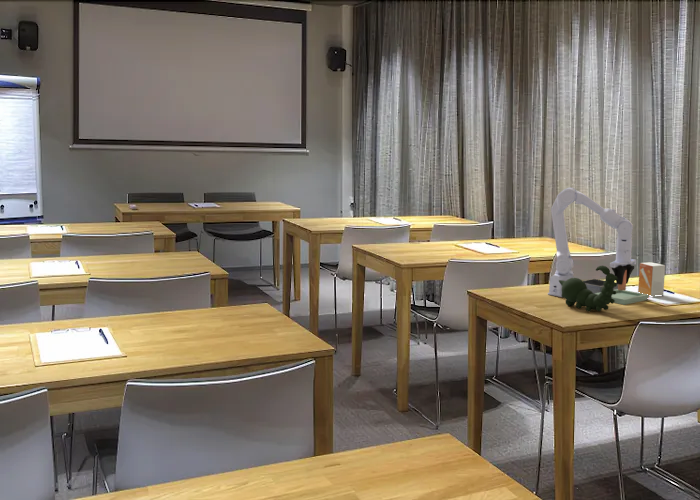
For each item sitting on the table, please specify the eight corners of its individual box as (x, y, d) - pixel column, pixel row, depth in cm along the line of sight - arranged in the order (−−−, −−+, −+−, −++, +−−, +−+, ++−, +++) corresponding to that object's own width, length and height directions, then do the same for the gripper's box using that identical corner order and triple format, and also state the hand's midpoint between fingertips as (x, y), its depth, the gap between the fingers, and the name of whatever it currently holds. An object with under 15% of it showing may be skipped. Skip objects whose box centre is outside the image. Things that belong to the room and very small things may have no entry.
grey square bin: (600, 294, 301) (600, 286, 300) (575, 289, 311) (575, 281, 310) (618, 291, 308) (619, 283, 307) (593, 286, 318) (594, 278, 318)
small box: (637, 293, 304) (639, 262, 302) (650, 292, 306) (652, 261, 304) (650, 297, 296) (652, 265, 294) (663, 296, 298) (665, 265, 296)
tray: (624, 304, 283) (624, 299, 283) (593, 298, 294) (594, 293, 294) (648, 299, 292) (648, 294, 292) (618, 293, 303) (618, 289, 303)
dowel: (622, 290, 290) (623, 270, 289) (616, 289, 293) (617, 269, 292) (627, 289, 292) (628, 270, 291) (620, 288, 295) (621, 269, 293)
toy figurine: (617, 317, 270) (564, 299, 290) (624, 268, 265) (570, 253, 286) (601, 320, 264) (548, 302, 285) (607, 270, 260) (553, 255, 280)
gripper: (621, 253, 283) (619, 287, 285) (643, 249, 291) (641, 283, 293) (605, 250, 288) (604, 284, 290) (628, 247, 297) (626, 280, 299)
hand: (622, 283), depth 292 cm, fingers closed on dowel, 3 cm apart
